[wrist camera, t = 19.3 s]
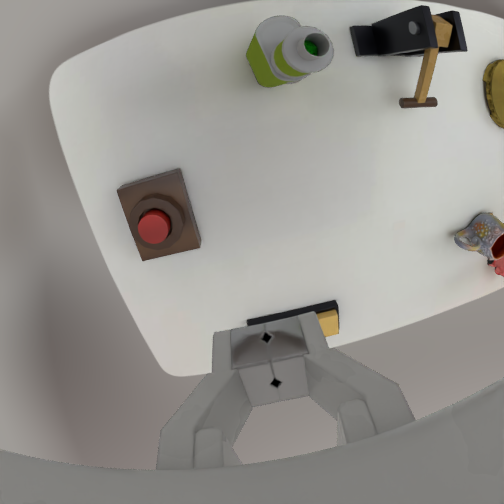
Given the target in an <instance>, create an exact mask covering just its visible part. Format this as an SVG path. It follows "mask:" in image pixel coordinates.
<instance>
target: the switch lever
mask: <svg viewBox="0 0 504 504" xmlns="http://www.w3.org/2000/svg"><path fill="white" fill-rule="evenodd" d="M431 16H432V20H433V24H434V28H435V33H436V37H437V42H438V48H434V49H426V50H425V52H424V57H423V61H422V66H421V70H420V75H419V79H418V83H417V87H416V91H415V95H414V98H401V99H400V100H399V104H400V107H401V108H417V107H436V106H437V99H436V98H435V97H427V94H428V90H429V87H430V83H431V79H432V75H433V71H434V67H435V63H436V59H437V55H438V51H439V46H440V47H448V45H449V40H450V36H451V31H452V27H453V25H451V24H450V23H449V22H447V21H446V20H444V19H443V18H441V17H440V16H437V15H431Z"/></svg>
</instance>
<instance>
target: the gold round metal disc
mask: <svg viewBox="0 0 504 504" xmlns="http://www.w3.org/2000/svg"><path fill="white" fill-rule="evenodd" d="M483 81H485V82H486V95H487V101H488V105H489V108H490V111H491V114H490V116H491V118H492V119H493V121H494V122H495V123H496V124H497V125H498V126H500V127H502V128H504V60H497V61H495V62H494V63H493V64H489V65H488V66H487V68H486V70H485V73H484V77H483Z"/></svg>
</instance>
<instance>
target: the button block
mask: <svg viewBox="0 0 504 504" xmlns="http://www.w3.org/2000/svg"><path fill="white" fill-rule="evenodd" d="M117 193H118V196H119V199H120V202H121V205H122V208H123V211H124V213H125V216H126V219H127V222H128V224H129V228H130V230H131V233H132V236H133V238H134V240H135V243H136V246H137V248H138V251H139V253H140V256H141V258H142V261H145V260H149V259H154V258H158V257H162V256H167V255H171V254H175V253H180V252H184V251H188V250H193V249H197V248H200V245H201V238H200V235H199V232H198V228H197V225H196V222H195V218H194V215H193V211H192V208H191V205H190V201H189V198H188V194H187V191H186V187H185V184H184V180H183V177H182V173H181V170H180V169H176V170H173V171H169V172H165V173H162V174H158V175H155V176H151V177H148V178H145V179H141V180H138V181H135V182H131V183H128V184H125V185H122V186H121V187H120V188H119V189H118V190H117ZM150 210H160V211H162V212H164V213H165V214H166V215H167V216H168V218H169V220H170V224H171V226H170V230H169V233H168V235H167V237H166V239H165V240H164V241H162V242H160V243H157V244H151V243H148V242H146V241H144V240H143V239H142V238H141V236H140V234H139V232H138V224H139V222H140V220H141V218H142V217H143V215H144V214H145V213H146V212H148V211H150Z"/></svg>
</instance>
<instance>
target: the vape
mask: <svg viewBox="0 0 504 504" xmlns="http://www.w3.org/2000/svg"><path fill="white" fill-rule="evenodd" d="M333 53H334V49H333V45H332V42H331V40H330V39H329V37H328V36H327V35H326V34H325V33H324V32H323V31H321V30H319V29H317V28H315V27H309V26H304V27H301V26H300V24H299V22H298V21H297V20H296V19H294V18H292V17H289V16H274V17H270V18H268V19H266V20H264V21H263V22H262V23H261V24H260V25H259V26H258V27H257V29H256V32H255V34H254V36H253V39H252V41H251V43H250V46H249V48H248V50H247V53H246V57H247V60H248V62H249V64H250V66H251V68H252V70H253V73H254V75H255V77H256V79H257V81H258V83H259V84H260V85H261V86H263V87H275V86H279V85H282V84H292V83H296V82H298V81H300V80H302V79H303V78H305V77H307V76H309V75H310V74H311V73H314V72H319V71H321V70H323V69H325V68H326V67H327V66H328V65H329V64H330V63H331V61H332V58H333Z"/></svg>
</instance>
